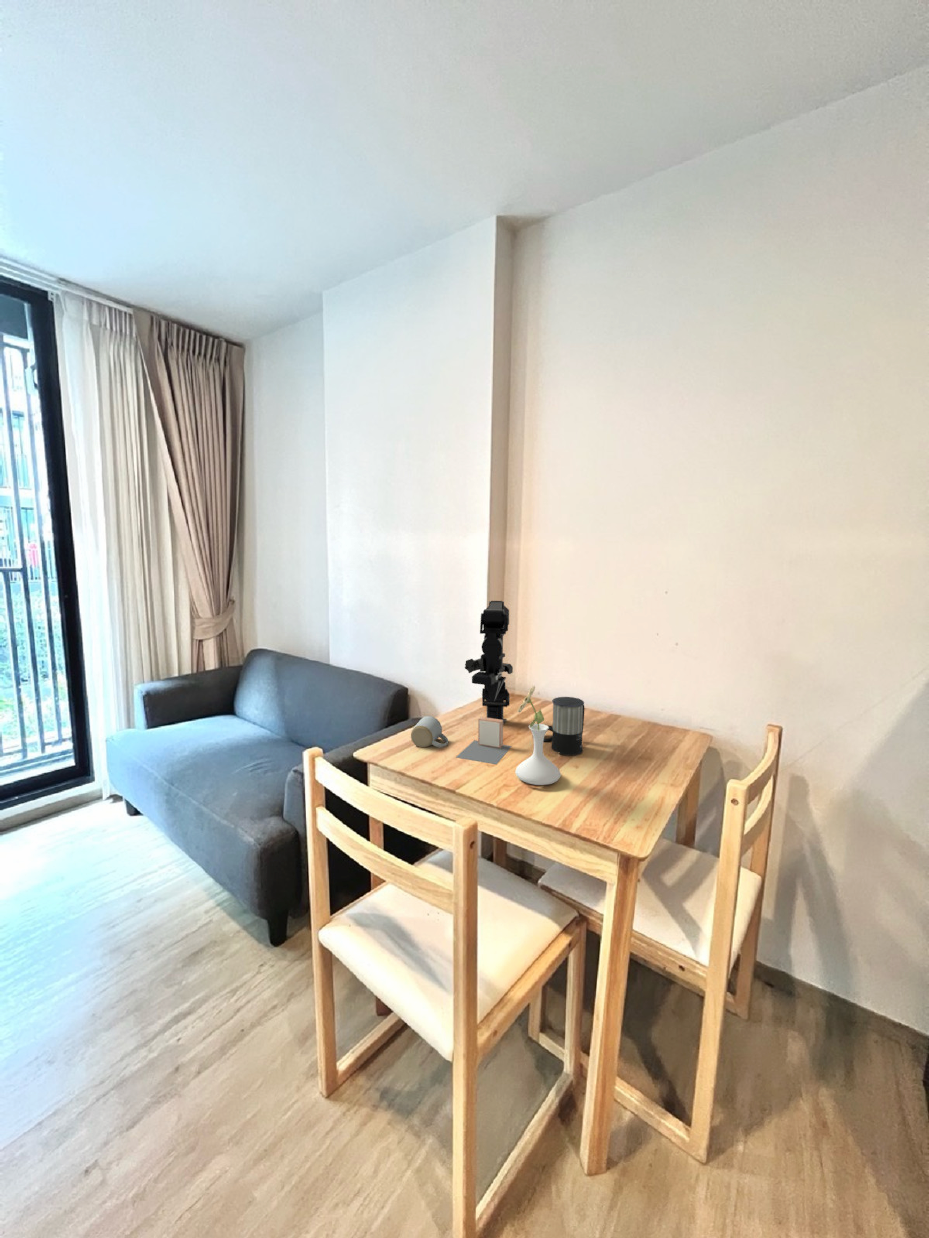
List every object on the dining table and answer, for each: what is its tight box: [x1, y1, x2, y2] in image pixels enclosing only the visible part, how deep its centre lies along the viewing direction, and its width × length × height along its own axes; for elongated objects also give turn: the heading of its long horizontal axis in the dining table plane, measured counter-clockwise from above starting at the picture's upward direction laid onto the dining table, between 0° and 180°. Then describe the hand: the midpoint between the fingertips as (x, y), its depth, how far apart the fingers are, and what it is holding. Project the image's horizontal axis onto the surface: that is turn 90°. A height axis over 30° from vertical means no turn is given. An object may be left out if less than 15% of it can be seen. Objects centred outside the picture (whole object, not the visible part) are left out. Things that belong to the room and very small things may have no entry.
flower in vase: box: [514, 685, 562, 786], centre depth 123 cm, size 13×11×25 cm
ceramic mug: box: [410, 715, 449, 748], centre depth 147 cm, size 11×8×8 cm
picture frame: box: [477, 716, 504, 748], centre depth 145 cm, size 2×7×8 cm, turn 67°
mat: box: [455, 739, 513, 765], centre depth 141 cm, size 14×12×1 cm
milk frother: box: [543, 696, 586, 757], centre depth 146 cm, size 14×16×15 cm
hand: (492, 700), depth 151 cm, fingers closed
